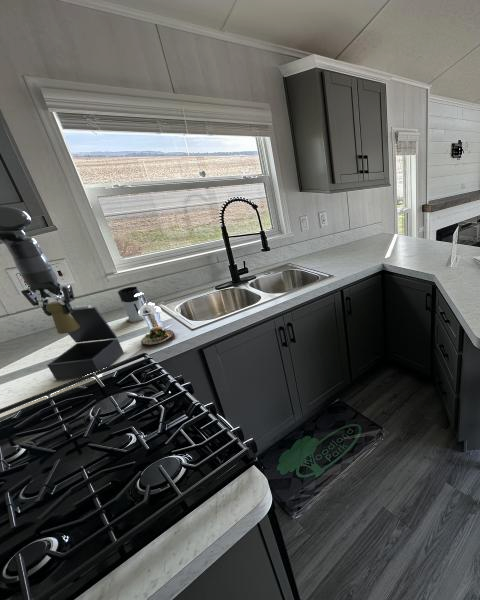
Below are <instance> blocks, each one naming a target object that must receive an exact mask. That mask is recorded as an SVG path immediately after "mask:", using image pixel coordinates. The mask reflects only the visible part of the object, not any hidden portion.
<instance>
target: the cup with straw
mask: <svg viewBox="0 0 480 600" xmlns="http://www.w3.org/2000/svg"><path fill="white" fill-rule="evenodd" d="M139 295H140V296H141V297H142V299H143V302H144V304H143V305H142V306H141V307H140V311H139V312H138V315H139V316H142V318H143V320H144V322H145V323H146V325H147V327H148V328H149V331H150V330H151V329H152V328H153V327H155V325H156V326H160V327H162V329H163V330H165V329H164V323H163V320H162V316H161V315H162V314H161V311H162V308H161V306H159V305H157V304H156V303H153V302H148V301H146V300H147V298H146V296H145V294H144V292H139V294H137V295H134V296H133V297H136V296H139Z"/></svg>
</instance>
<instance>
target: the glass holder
mask: <svg viewBox="0 0 480 600" xmlns="http://www.w3.org/2000/svg"><path fill="white" fill-rule="evenodd" d="M139 293H140V291H139V288H138V287H137V286H128V287H123V288H121V289H119V290H118V291H117V294H118V295H119V298H120V302H121V304H122V306H123V308H124V311H125V312H126V315H127V316H128V322H131V323H132V322H133V323H134V322H140V321H143V320H144V319H143V318H142V316H139V315H138V312H139V311H140V307H141V306H142V305H143V304H145V301H144V299H143V296H142V295H139V296H136V297H133V296H134V295H137V294H139ZM146 301H147V299H146ZM147 302H148V301H147Z"/></svg>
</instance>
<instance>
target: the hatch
mask: <svg viewBox="0 0 480 600" xmlns="http://www.w3.org/2000/svg"><path fill="white" fill-rule="evenodd" d="M72 309H73V312H72V313H70V314H71V315H72V316H73V318H74V319H75V320H76V322H77V323H78V324H79V325H80V328H78V329H77V330H75V331H72V332H69V333H67V334H68V335H69V336H70V338H71V339H72V340H73V341H74V342H75V344H77V343H83V342H92V341H102V340H111V339H118V336H117V334H116V333H115V331H114V330H113V329H112V327H111V326H110V325H109V323H108V322H107V321H106V320H105V318H104V317H103V315H102V314H101V313H100V311H99V310H98V308H97V307H96V306H94V307H92V305H90V304H88V305H77V306H73V307H72Z"/></svg>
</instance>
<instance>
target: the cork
mask: <svg viewBox="0 0 480 600" xmlns="http://www.w3.org/2000/svg"><path fill="white" fill-rule="evenodd" d="M61 305H62V304H60V303H59V302H58V301H57V300H54V301H51V302H49V303H48V304H47V305H46V310H47V311H48V312H50V313H51V314H52V315H51V318H52V321H53V323H54V325H55V328H56V332H57V333H58V334H59V335H64V334H65V335H66V334H68V333H69V332H72V331H75V330H77V329H78V328H80V325H79V324H78V323H77V322H76V320H75V319H74V318H73V316H72V315H71V314H66V313H65V312H64V310H63V308H62V306H61Z"/></svg>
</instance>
